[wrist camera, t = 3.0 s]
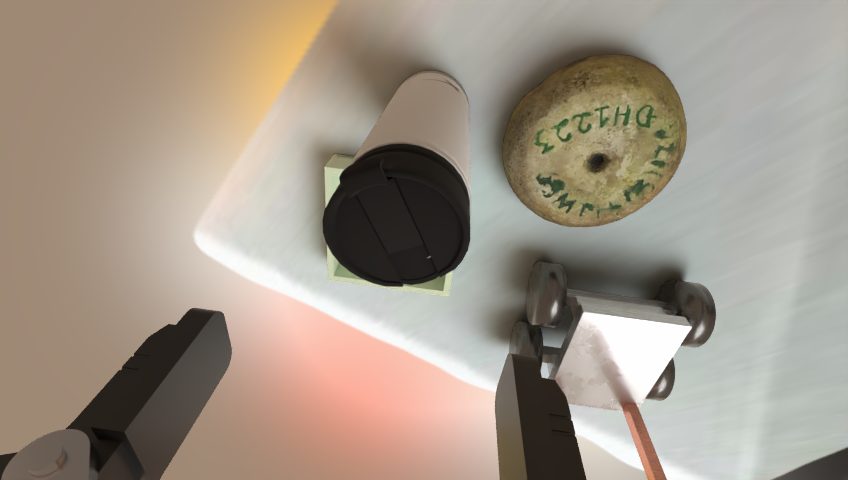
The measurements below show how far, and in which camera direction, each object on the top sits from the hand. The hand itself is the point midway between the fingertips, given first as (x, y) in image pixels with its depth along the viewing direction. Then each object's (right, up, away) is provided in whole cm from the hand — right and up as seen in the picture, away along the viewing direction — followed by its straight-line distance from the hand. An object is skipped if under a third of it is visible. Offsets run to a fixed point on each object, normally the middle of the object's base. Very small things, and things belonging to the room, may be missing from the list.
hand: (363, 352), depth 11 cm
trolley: (+20, -5, +32) cm, 37 cm away
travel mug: (+2, +14, +22) cm, 26 cm away
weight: (+15, +12, +22) cm, 29 cm away
